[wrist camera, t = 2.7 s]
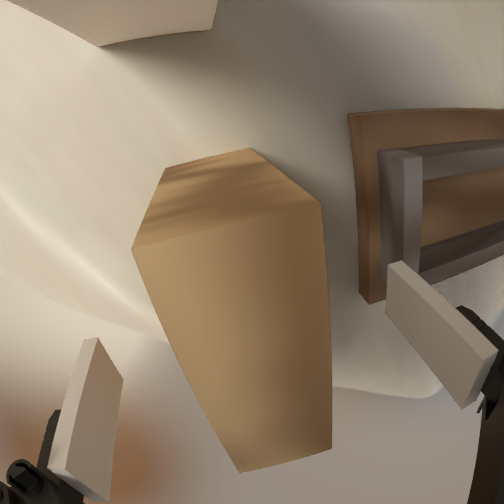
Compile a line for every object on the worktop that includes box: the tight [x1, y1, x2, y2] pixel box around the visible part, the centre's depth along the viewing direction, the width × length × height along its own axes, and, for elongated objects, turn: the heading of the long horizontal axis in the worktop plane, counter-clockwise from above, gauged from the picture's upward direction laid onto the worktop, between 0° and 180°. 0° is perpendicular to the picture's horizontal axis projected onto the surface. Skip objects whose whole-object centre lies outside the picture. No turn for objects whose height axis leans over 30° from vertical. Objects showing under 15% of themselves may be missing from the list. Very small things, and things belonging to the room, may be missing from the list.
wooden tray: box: [348, 108, 504, 304], centre depth 18 cm, size 12×22×4 cm, turn 101°
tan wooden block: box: [131, 148, 332, 473], centre depth 14 cm, size 5×12×10 cm, turn 11°
